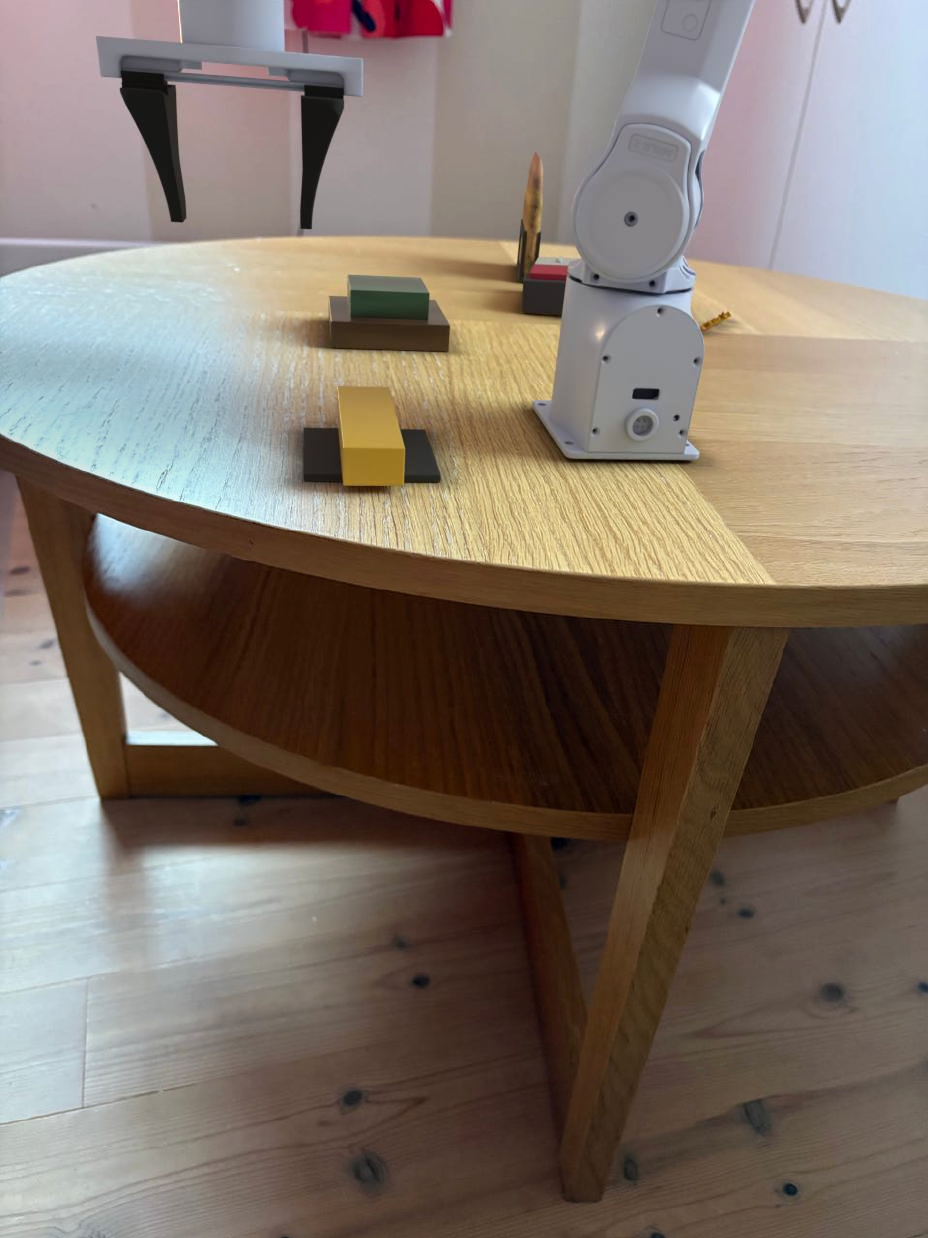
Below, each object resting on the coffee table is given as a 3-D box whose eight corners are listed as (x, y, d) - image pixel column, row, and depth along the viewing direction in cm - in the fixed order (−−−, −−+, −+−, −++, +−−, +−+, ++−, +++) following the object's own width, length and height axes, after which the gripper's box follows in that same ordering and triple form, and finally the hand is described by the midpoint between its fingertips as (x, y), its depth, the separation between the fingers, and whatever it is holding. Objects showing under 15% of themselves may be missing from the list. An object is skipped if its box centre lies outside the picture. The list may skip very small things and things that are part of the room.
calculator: (534, 252, 90) (685, 259, 88) (531, 297, 92) (679, 304, 90) (522, 270, 80) (692, 278, 78) (520, 319, 82) (684, 328, 80)
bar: (403, 486, 44) (405, 447, 43) (343, 486, 44) (343, 447, 43) (388, 420, 53) (389, 386, 52) (337, 419, 52) (336, 385, 51)
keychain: (722, 318, 86) (724, 307, 85) (732, 320, 85) (735, 309, 85) (694, 332, 80) (697, 320, 79) (705, 334, 79) (708, 322, 79)
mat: (440, 482, 46) (440, 475, 46) (303, 481, 45) (303, 473, 45) (425, 435, 52) (425, 429, 52) (303, 433, 51) (303, 426, 50)
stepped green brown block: (448, 351, 68) (452, 297, 66) (331, 348, 67) (330, 292, 65) (434, 323, 76) (437, 274, 74) (328, 320, 75) (328, 269, 73)
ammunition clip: (516, 265, 104) (527, 150, 98) (532, 266, 104) (544, 151, 98) (518, 282, 95) (531, 156, 89) (535, 283, 95) (549, 158, 89)
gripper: (359, -29, 53) (357, 220, 60) (101, -55, 50) (131, 208, 57) (366, -42, 47) (363, 237, 54) (74, -72, 44) (111, 223, 51)
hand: (243, 223), depth 55 cm, fingers open, 7 cm apart
